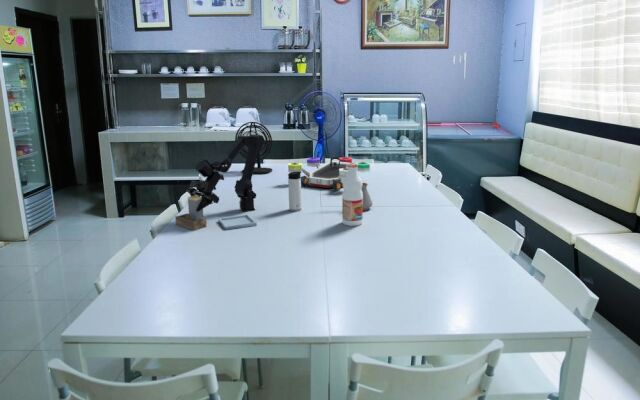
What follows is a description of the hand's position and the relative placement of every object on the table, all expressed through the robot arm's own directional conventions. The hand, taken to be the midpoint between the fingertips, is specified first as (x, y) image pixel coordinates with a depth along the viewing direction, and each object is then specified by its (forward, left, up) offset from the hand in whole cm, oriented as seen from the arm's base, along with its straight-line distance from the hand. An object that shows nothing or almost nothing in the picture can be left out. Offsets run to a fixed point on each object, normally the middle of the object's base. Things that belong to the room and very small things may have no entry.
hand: (193, 210), depth 240 cm
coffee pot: (-79, +8, -7) cm, 79 cm away
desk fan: (-62, -103, -7) cm, 120 cm away
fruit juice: (-67, +31, -7) cm, 74 cm away
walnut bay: (+2, +1, -7) cm, 7 cm away
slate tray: (-19, +7, -7) cm, 21 cm away
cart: (-95, -48, -8) cm, 107 cm away
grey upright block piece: (-1, -1, -7) cm, 7 cm away
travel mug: (-52, -2, -7) cm, 52 cm away
